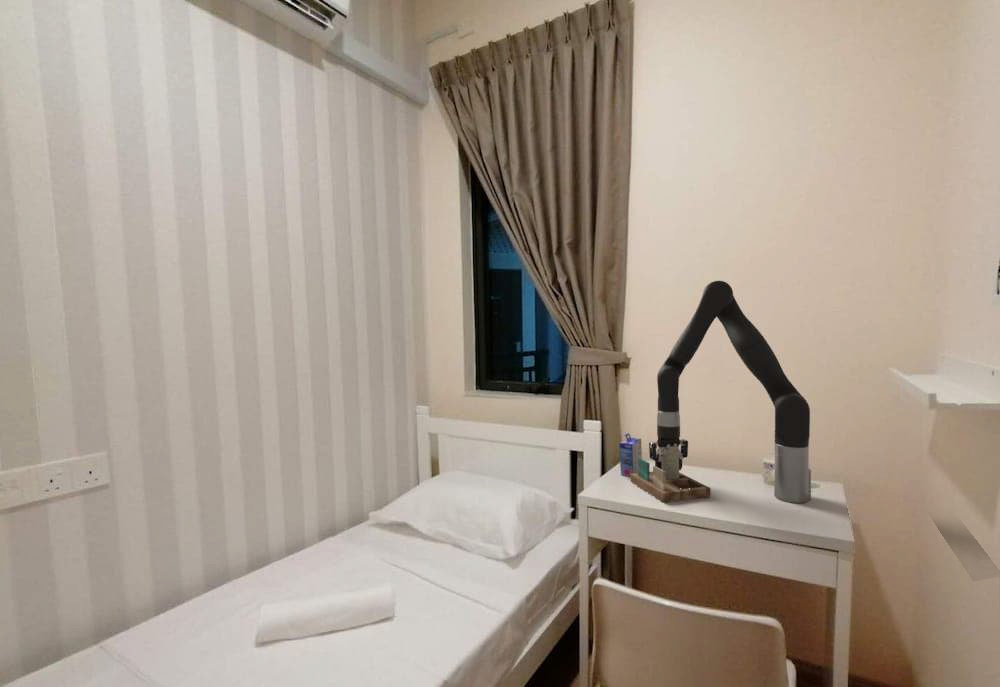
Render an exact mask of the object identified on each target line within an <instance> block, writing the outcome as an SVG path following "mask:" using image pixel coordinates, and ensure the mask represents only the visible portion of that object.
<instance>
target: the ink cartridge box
mask: <svg viewBox="0 0 1000 687" xmlns="http://www.w3.org/2000/svg"><path fill="white" fill-rule="evenodd" d="M624 437H625V438H626V439H624V440H623V441H621V442H620V443H619V458H620V459H619V461H620V462H619V463H620V466H619V467H620V475H621V476H625V475H626V476H625V477H631V474H633V473H638V458H641V459H643V455H642V453H643V452H642V447H643V446H642V438H638V437H631V434H630V433H626V434H625V435H624Z"/></svg>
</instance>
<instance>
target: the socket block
mask: <svg viewBox="0 0 1000 687" xmlns="http://www.w3.org/2000/svg"><path fill="white" fill-rule="evenodd" d="M631 482H632V484H633V485H634V484H635V485H634V486H636V485H637V486H636V487H638V488H639V487H640V489H641V490H642V489H643V490H642V491H644V492H645V491H646V493H647V492H648V493H647V494H648V495H650V494H651V495H650V496H652V497H653V496H654V497H653V498H655V497H656V498H657V500H658V499H659V500H660V502H661V501H662V502H661V503H663V502H666V503H672V502H671V501H675V502H682V501H681V500H683V501H689V500H690V499H691V500H698V498H700V499H707V498H706V497H708V498H711V487H709V486H707V485H705V484H703V483H702V482H699V481H697V480H695V479H693V478H692V477H689V476H687V475H685V474H684V473H682V472H680V471H679V479H671V480H665V471H664V470H662V469H660V468H658V467H656V466H655V465H653V466H652V471H650V462H648V461H647V460H644V459H643V458H642V459H641V458H638V473H633V474H631V476H630V483H631ZM680 488H684V489H680ZM689 488H690V489H689ZM656 498H655V499H656ZM659 500H658V501H659Z"/></svg>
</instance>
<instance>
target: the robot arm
mask: <svg viewBox="0 0 1000 687" xmlns="http://www.w3.org/2000/svg"><path fill="white" fill-rule="evenodd" d="M716 318H717V320H718V321H719V322H720V323H721V325H722V327H723V328H724V330H725V333H726V334H727V336H728V338H729V340H730V343H731V344H732V346H733V348H734V350H735V351H736V353H737V354H738V356H739V358H740V359H741V361H742V363H743V364H744V365H745V366H746V368H747V369H748V370H749V371H750V373H751V374H752V375H753V376H754V377H755V378H756V379H757V380H758V381H759V383H761V385H762V387H763V388H764V389H765V391H766V393H767V395H768V397H769V398H770V400H771V402H772V404H773V407H774V477H773V479H774V492H773V493H774V497H775V498H776V499H779V500H780V501H784V502H787V503H794V504H795V503H796V504H799V503H800V504H803V503H806V502H807V503H808V501H809V500H812V495H811V494H812V470H811V468H809V466H810V465H809V463H810V462H809V460H810V459H809V458H810V456H809V455H810V454H809V449H810V444H809V443H810V436H811V435H810V429H811V428H810V427H811V426H810V425H811V410H810V405H809V403H808V401H807V400H806V398H805V397H804V396H803V395H802V394H801V393H800V392H799V390H797V388H796V387H795V386H794V385H793V383H792V382H791V381H790V380H789V379H788V377H787V375H786V374H785V372H784V370H783V368H782V366H781V364H780V362H779V360H778V358H777V356H776V355H775V353H774V352H775V351H773V349H772V347H771V346H770V344H769V343H768V341H767V340H766V339H765V337H764V335H763V334H762V333H761V332H760V331H759V329H758V328H757V327H756V326H755V325H754V324H753V323H752V322H751V321H750V319H748V317H747V316H746V315H745V313H744V312H743V311H742V308H740V306H739V304H738V301H737V300H736V298H735V296H734V291H733V288H732V287H731V285H730V284H729V283H728V282H726V281H723V280H714V281H711V282H710V283H708V284H707V285H706V286H705V287H704V288H703V291H702V296H701V298H700V301H699V303H698V306H697V307H696V310H695V311H694V314H693V316H692V318H690V321H689V322H688V324H687V325H686V326H685V328H684V330H683V332H682V333H681V334H680V336H679V337H678V339H677V340H676V342H675V344H674V345H673V347H672V348H671V351H670V353H669V355H668V357H667V358H666V360H665V361H664V362H663V364H662V365H661V367H660V369H659V370H658V373H657V375H656V376H657V378H656V381H657V383H656V384H657V415H656V434H657V440H656V441H654V442H653V441H649V443H648V450H649V459H651V460H652V461H654V466H656V467H658V468H660V469H662V462H661V460H662V458H663V457H664V456H665V454H666V452H667V449H669V447H670V446H673V447H676V446H678V447H679V448H680V449H679V471H681V470H682V469H683V459H685V458H688V456H689V454H688V452H689V441H688V440H687V439H685V438H681V439H680V437H681V416H680V399H679V389H680V388H679V387H680V385H679V384H680V383H679V382H680V377H681V376H682V374H683V372H684V369H685V368H686V366H687V365H688V364H690V362H691V360H692V359H693V358H694V356H695V354H696V352H697V350H698V349H699V348H700V346H701V344H702V342H703V340H704V338H705V337H706V334H707V332H708V330H709V328H710V327H711V326H712V324H713V322H714V321H715V319H716ZM658 447H659V448H660V447H665V448H664V450H663V451H662V453H660V452H659V448H658ZM665 450H666V451H665Z"/></svg>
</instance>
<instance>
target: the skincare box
mask: <svg viewBox="0 0 1000 687" xmlns="http://www.w3.org/2000/svg"><path fill="white" fill-rule="evenodd" d="M658 448H659V447H658V446H657V449H658ZM664 448H665V447H660V448H659V452H660V453H662V451H663V450H664ZM679 450H680V446H679V447H678V446H676V447H673V446H670V447H669V449H667V452H666V454H665V456H664V457H663V458H662V460H661V462H662V470H664V471H665V480H671V479H679V472H680V470H679ZM665 451H666V450H665Z"/></svg>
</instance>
